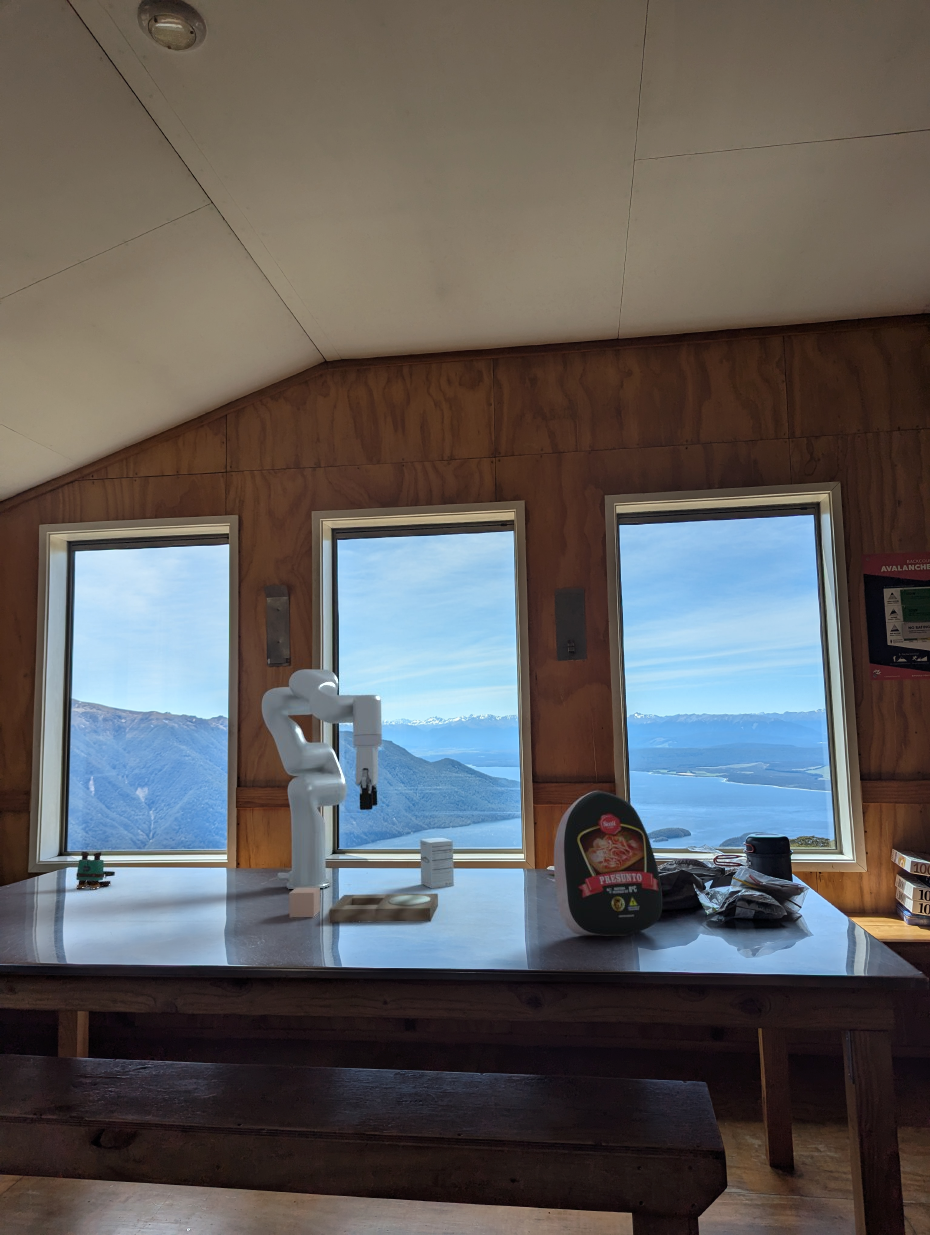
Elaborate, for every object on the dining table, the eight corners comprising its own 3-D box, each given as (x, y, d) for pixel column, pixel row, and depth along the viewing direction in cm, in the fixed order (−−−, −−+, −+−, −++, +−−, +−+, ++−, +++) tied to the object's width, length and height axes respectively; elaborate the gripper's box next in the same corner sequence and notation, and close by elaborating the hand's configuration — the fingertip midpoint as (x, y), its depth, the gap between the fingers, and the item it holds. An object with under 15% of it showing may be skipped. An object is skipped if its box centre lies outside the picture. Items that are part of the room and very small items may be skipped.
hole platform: (329, 922, 200) (329, 908, 200) (344, 906, 216) (344, 893, 216) (430, 921, 198) (430, 906, 199) (438, 905, 214) (437, 892, 215)
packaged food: (579, 951, 170) (572, 799, 174) (544, 928, 189) (539, 791, 192) (676, 940, 176) (668, 793, 179) (633, 919, 195) (627, 786, 198)
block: (289, 918, 206) (289, 893, 206) (296, 912, 212) (296, 887, 212) (313, 918, 205) (313, 892, 206) (320, 912, 211) (319, 887, 212)
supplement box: (420, 884, 242) (419, 839, 243) (444, 881, 245) (443, 836, 246) (430, 888, 235) (429, 842, 237) (454, 885, 238) (453, 839, 240)
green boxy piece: (121, 850, 258) (98, 852, 248) (118, 887, 256) (94, 890, 246) (96, 850, 260) (73, 852, 251) (93, 886, 258) (69, 889, 249)
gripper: (358, 741, 233) (359, 804, 231) (348, 743, 216) (349, 811, 214) (385, 740, 233) (386, 803, 231) (377, 742, 216) (378, 810, 214)
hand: (368, 807), depth 223 cm, fingers open, 9 cm apart
